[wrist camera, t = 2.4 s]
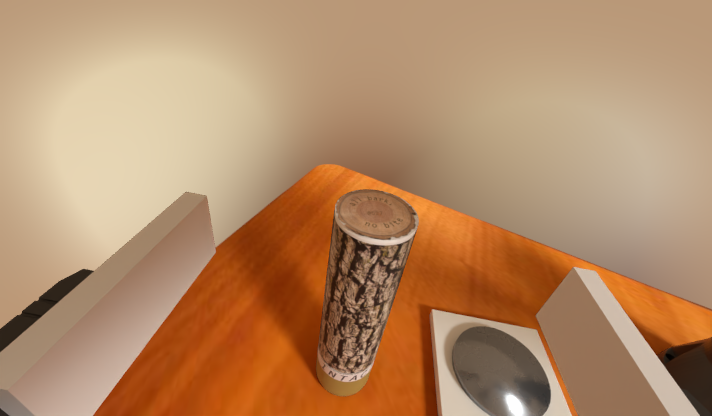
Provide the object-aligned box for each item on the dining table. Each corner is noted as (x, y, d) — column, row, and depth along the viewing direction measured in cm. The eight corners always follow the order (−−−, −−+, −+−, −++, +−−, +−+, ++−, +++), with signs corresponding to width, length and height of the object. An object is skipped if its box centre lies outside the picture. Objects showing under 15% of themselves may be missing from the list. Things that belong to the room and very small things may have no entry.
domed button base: (532, 335, 47) (539, 325, 45) (582, 465, 34) (595, 457, 32) (429, 315, 47) (434, 305, 46) (439, 435, 34) (446, 426, 33)
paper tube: (314, 346, 41) (331, 187, 26) (364, 343, 42) (405, 191, 28) (316, 401, 35) (338, 239, 21) (373, 396, 36) (430, 240, 22)
